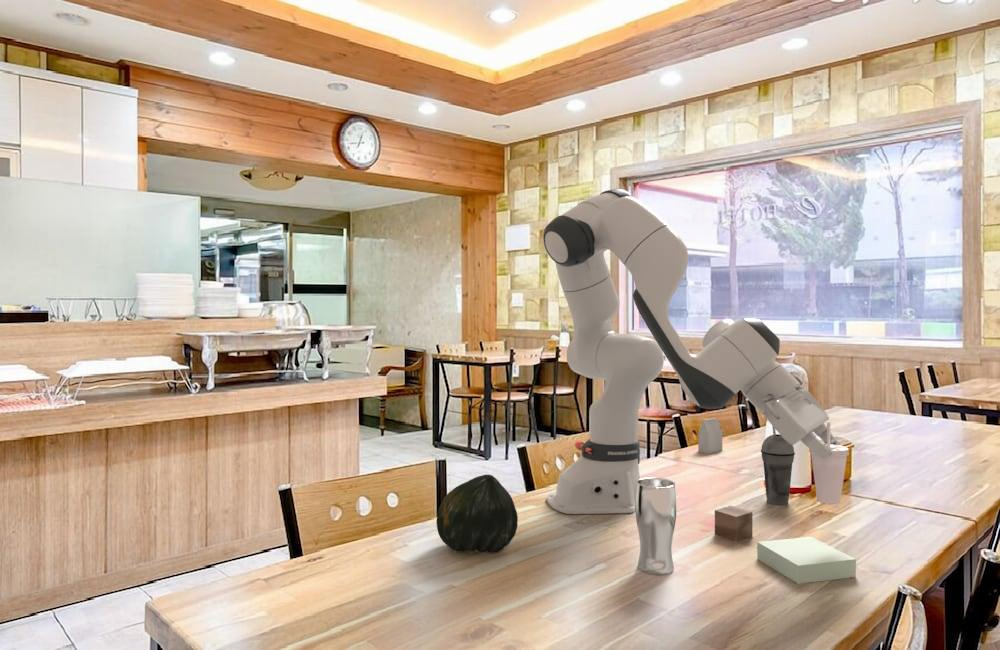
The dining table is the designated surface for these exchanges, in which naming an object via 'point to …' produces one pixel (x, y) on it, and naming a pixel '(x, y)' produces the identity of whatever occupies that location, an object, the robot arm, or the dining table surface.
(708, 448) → the grey tapered block
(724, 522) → the brick
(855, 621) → the dining table surface
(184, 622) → the dining table surface
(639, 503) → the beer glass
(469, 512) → the squash
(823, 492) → the smoothie
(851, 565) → the pedestal
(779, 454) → the beverage cup
